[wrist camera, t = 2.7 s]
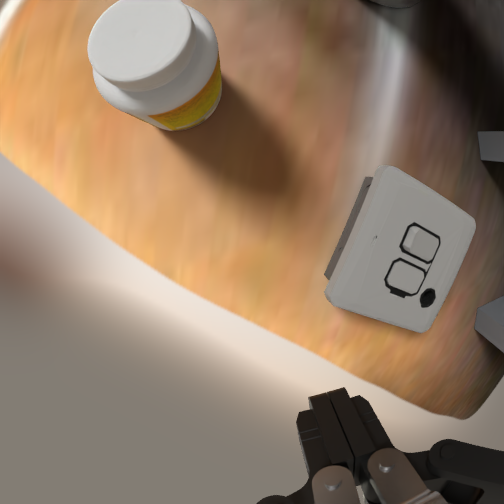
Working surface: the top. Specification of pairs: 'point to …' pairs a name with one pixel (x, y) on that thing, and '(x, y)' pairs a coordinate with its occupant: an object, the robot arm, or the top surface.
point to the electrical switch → (398, 251)
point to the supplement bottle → (157, 62)
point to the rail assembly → (500, 310)
